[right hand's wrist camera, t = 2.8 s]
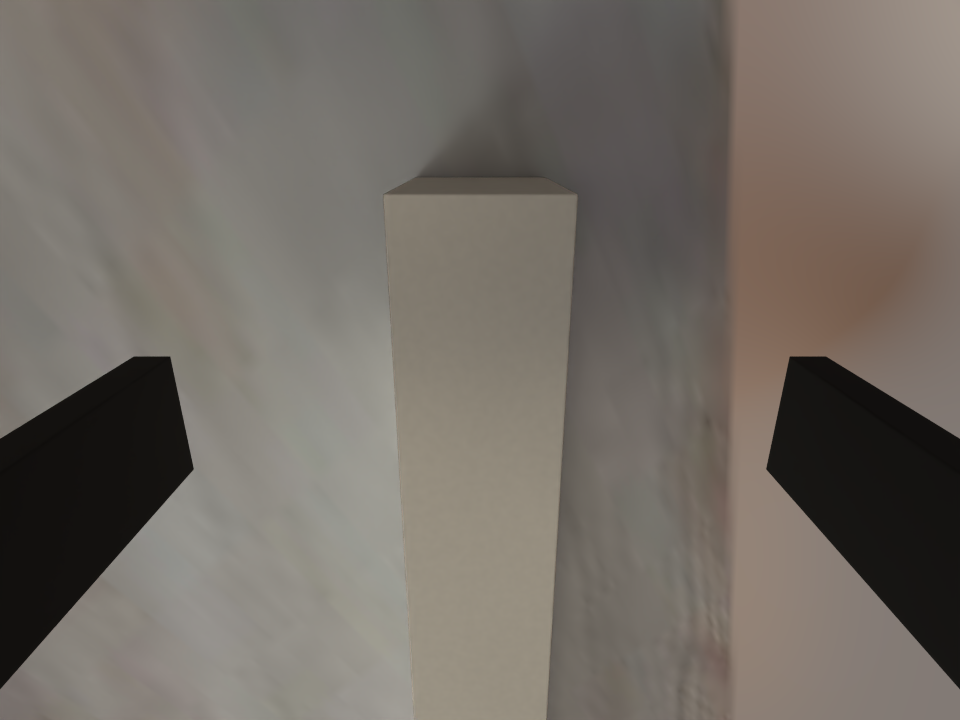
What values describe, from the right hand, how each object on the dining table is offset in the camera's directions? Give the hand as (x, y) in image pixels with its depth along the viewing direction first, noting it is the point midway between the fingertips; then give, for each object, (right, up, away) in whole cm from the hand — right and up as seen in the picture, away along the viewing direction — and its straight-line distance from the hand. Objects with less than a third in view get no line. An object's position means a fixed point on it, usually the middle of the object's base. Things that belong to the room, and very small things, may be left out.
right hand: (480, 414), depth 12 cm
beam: (0, -16, +22) cm, 27 cm away
